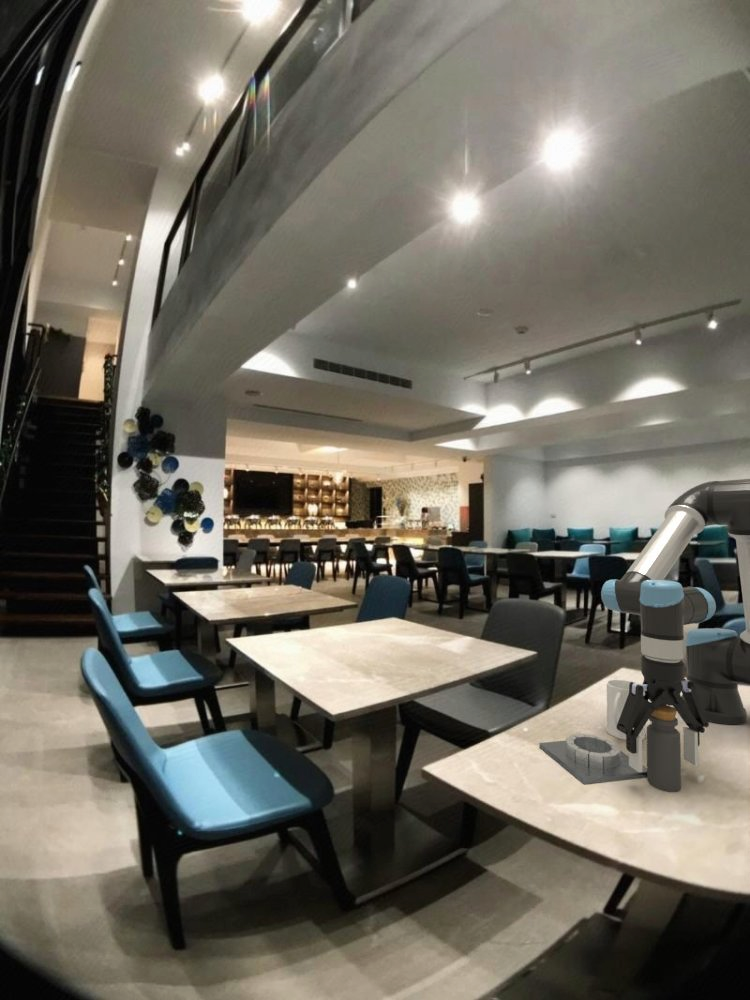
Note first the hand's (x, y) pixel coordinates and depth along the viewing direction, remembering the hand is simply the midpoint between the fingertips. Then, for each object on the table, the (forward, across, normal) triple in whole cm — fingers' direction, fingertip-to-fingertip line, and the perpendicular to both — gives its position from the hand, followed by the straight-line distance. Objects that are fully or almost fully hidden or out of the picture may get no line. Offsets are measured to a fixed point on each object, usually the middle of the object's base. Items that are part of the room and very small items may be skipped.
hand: (663, 765), depth 96 cm
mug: (+4, -8, -21) cm, 23 cm away
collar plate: (+4, +8, -11) cm, 14 cm away
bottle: (+4, 0, 0) cm, 4 cm away
